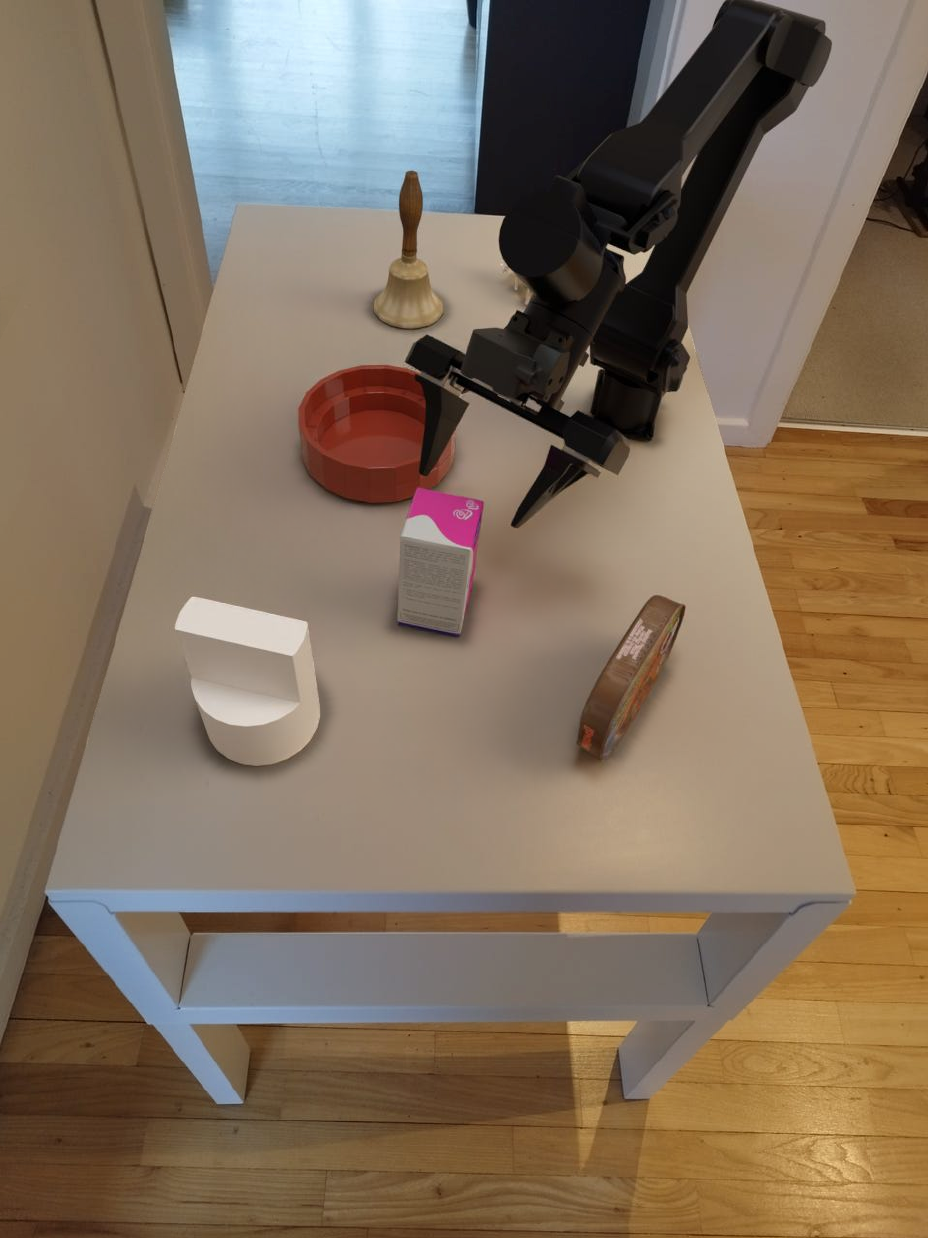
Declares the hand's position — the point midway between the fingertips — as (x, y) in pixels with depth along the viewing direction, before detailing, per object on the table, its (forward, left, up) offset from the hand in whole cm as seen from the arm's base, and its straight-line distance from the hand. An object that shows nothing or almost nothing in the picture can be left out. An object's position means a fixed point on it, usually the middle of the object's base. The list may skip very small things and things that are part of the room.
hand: (467, 500), depth 71 cm
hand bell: (+14, -40, -11) cm, 44 cm away
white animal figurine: (0, -46, -11) cm, 47 cm away
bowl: (+11, -15, -10) cm, 21 cm away
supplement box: (+1, +3, -11) cm, 11 cm away
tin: (-16, +9, -11) cm, 21 cm away
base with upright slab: (+12, +17, -11) cm, 24 cm away
